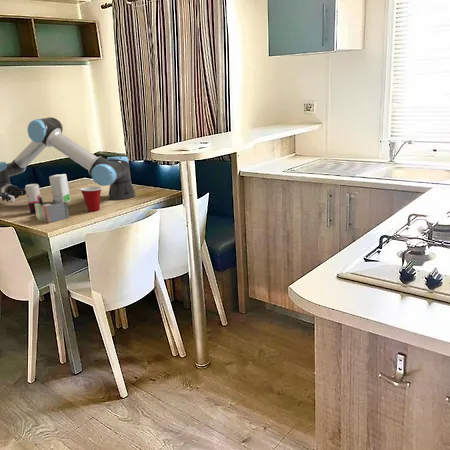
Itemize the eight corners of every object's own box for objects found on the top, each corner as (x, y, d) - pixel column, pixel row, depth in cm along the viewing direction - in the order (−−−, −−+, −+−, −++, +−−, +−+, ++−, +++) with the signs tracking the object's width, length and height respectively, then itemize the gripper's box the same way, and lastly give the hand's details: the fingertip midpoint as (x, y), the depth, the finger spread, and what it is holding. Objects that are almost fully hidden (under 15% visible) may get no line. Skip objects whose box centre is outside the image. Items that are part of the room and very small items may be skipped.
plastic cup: (109, 209, 247) (106, 186, 243) (91, 214, 239) (87, 191, 236) (97, 206, 254) (94, 184, 250) (79, 211, 246) (75, 188, 243)
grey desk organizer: (37, 219, 236) (34, 203, 234) (57, 214, 244) (55, 199, 241) (47, 223, 228) (45, 207, 226) (69, 217, 235) (66, 202, 233)
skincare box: (63, 204, 263) (58, 176, 259) (52, 204, 265) (48, 176, 260) (71, 200, 271) (66, 173, 267) (60, 200, 273) (56, 173, 268)
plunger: (35, 215, 242) (31, 195, 238) (46, 212, 246) (43, 193, 242) (44, 218, 235) (40, 198, 232) (55, 215, 239) (52, 195, 236)
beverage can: (45, 212, 248) (40, 184, 244) (33, 215, 244) (27, 187, 240) (40, 210, 253) (35, 183, 248) (28, 213, 249) (23, 185, 244)
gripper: (33, 193, 276) (50, 198, 262) (-11, 202, 260) (4, 208, 245) (31, 180, 274) (47, 184, 259) (-14, 189, 258) (1, 194, 243)
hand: (26, 196), depth 252 cm, fingers open, 13 cm apart
